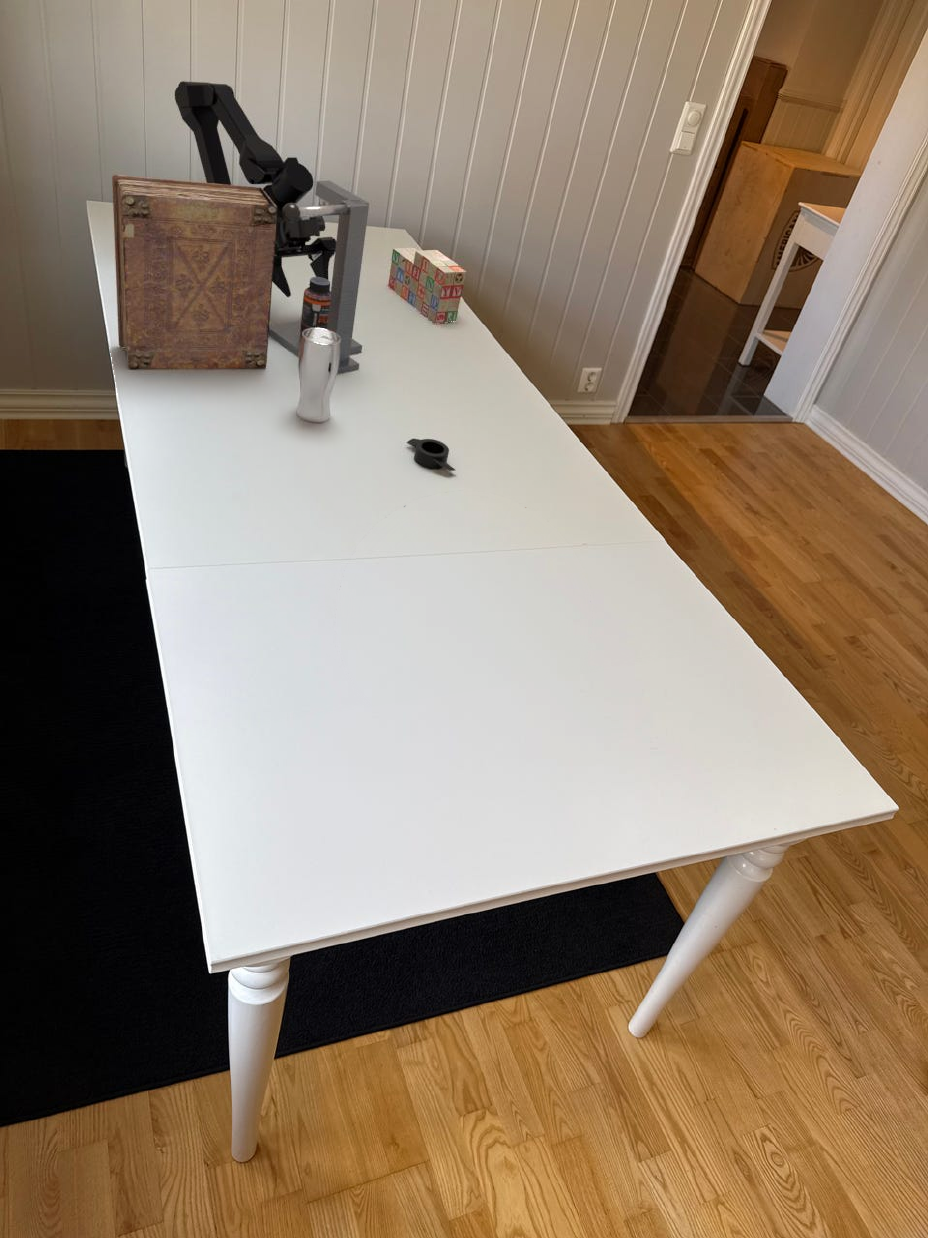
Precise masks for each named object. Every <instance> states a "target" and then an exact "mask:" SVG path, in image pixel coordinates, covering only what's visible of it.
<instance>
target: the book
mask: <svg viewBox="0 0 928 1238" xmlns="http://www.w3.org/2000/svg"><path fill="white" fill-rule="evenodd" d="M111 182H112V183H111V184H112V186H111V187H112V206H113V209H112V210H113V229H114V230H113V233H114V235H113V236H114V257H115V259H114V260H115V279H116V280H115V281H116V283H115V284H116V285H115V286H116V306H117V330H118V335H117V336H118V337H117V338H118V346H119V347H120V348H121V347H124V348H123V349H124V350H125V353H126V357H127V358H126V359H127V368H128V369H129V370H131V371H142V370H144V371H150V370H152V371H154V370H157V371H158V370H159V371H160V370H163V371H164V370H165V371H166V370H168V371H169V370H253V369H254V370H257V369H261V370H262V369H263V370H265V369H266V368H267V361H268V350H269V349H268V346H269V325H270V317H271V304H272V291H273V290H272V288H273V282H272V278H273V263H274V249H275V235H276V220H277V206H276V205H275V204H274V203H273V201H272V200H271V199H270V198H269V196H268V195H267V194H266V193H265V191H264V190H263V188H262V187H254V186H244V185H234V184H231V185H224V184H213V183H207V182H202V181H201V182H200V181H188V180H180V179H178V180H177V179H167V178H154V177H144V176H134V175H133V176H132V175H123V174H114V175H113V176H111Z"/></svg>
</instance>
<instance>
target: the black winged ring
mask: <svg viewBox="0 0 928 1238" xmlns="http://www.w3.org/2000/svg"><path fill="white" fill-rule="evenodd" d="M406 444H407V445H410V446H411V447H413V448H414V449H415V450H414V457H413V460H414V462H415V463H416V464H417V465H418V466H420V467H422V468H424V469H428V470H433V471H434V470H442V469H445V470H447V471H448V472H453V471H456V469H455V467H453V466H451V465H450V464H448V457H449V453H450V448H449V447H448V445H446V443H444V442H442V441H440V440H437V439H434V438H433V439H431V438H423V439H419V438H412V439H410V440H408V441H407V442H406Z"/></svg>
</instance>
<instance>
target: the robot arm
mask: <svg viewBox="0 0 928 1238" xmlns="http://www.w3.org/2000/svg"><path fill="white" fill-rule="evenodd" d="M174 101H175V103H176V106H177V108H178V111H179V114H180V116H181V119H182V121H183V122H184V123H185V124H186V125H187V126H188V127H189V129H190V130H191V131H192V132H193V135H194V139H195V142H196V147H197V150H198V154H199V158H200V161H201V166H202V170H203V173H204V177H205V183H213V184H224V185H232V182H231V177H230V173H229V170H228V165H227V161H226V157H225V154H224V150H223V145H222V141H221V138H220V134H219V133H220V132H219V130H218V125H219V123H221V125H222V126H223V129H224V130H225V132H226V134H227V135H228V136H229V138H230V140H231V141H232V143H233V145H234V146H235V148H236V149H237V152H238V155H239V158H238V159H239V160H238V165H239V167H240V168H241V169H240V170H241V171H242V173H243V175H244V178H245V179H246V181H247V182H248V183H249V184H250V185H265V186H264V187H263V188H262V189H263V190H264V191H265V193H266V194H267V195H268V196H269V198H270V199H271V200H272V201H273V203H274V204H275V205H276V206H277V220H276V235H275V249H274V263H273V278H272V284H274V285H275V286H276V287H277V289H279V290H280V291H281V292H282V293H283V294H284V295H285V296H286V298H290V297H291V296H292V292H291V288H290V285H289V282H288V280H287V278H286V274H285V271H284V269H283V258H292V257H303V256H307V257H308V259H309V260H310V261H312V262H310V263H309V265H310V267H311V270H312V271H313V273H314V275H315V276H314V277H321V278H325V279H327V280H329V267H330V266H329V264H330V260H331V258H332V257H334V256H335V249H336V240H337V239H335V238H334V237H332V236H324V237H323V236H322V237H321V232H324V231H325V230H326V223H325V219H324V216H316V217H308V218H309V219H308V218H306V219H303V217H300V218H299V219H298V220H297V221H296V222H293V223H292V222H288V221H286V220H285V218H284V217H283V214H282V210H283V207H284V206H285V205H286V204H288V203H294V204H296V205H297V204H298V203H299V202H300V201H301V200H302V199H303V198H304V197H305V196H306V195H307V194H308V193H309V192H310V191H311V190H312V189H313V187H314V177H313V175H312V173H311V172H310V171H309V169H308V168H307V167H306V166H304V165H303V164H301V163H299V161H298V158H297V157H296V156H295V157H292V156H291V157H289V156H288V157H287V158H286V159H284V160H283V157H281V155H280V154H279V153H278V152H277V150H276V149H275V147H273V146H272V145H271V143H269V142H267V141H265V140H264V139H262V138H261V137H260V136H259V135H258V133H257V132H256V130H255V128H254V127H253V125H252V123H251V121H250V120H249V119H248V117H247V115H246V114H245V111H244V110H243V109H242V107H241V105H240V104H239V102H238V101H237V99H236V97H235V92H234V90H233V87H231V86H230V85H228V84H227V83H210V82H205V81H202V82H201V81H186V80H185V81H179V84H178V86H177V87H176V88H175V90H174ZM311 237H318V238H315V240H314V241H312V243H311V244H306V243H308V242H310V241H311V240H312V238H311Z"/></svg>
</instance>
